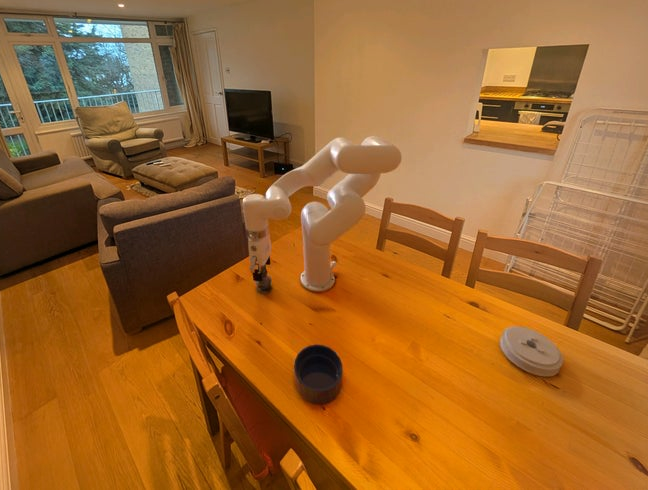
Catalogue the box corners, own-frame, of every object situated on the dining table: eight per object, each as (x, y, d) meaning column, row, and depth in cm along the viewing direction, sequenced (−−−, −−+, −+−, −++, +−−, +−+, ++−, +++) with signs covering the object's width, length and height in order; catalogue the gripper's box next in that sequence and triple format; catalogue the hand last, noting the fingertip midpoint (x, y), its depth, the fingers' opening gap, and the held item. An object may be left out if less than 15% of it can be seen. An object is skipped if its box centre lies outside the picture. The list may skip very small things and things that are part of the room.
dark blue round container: (315, 351, 83) (314, 336, 81) (351, 379, 75) (352, 364, 73) (285, 382, 76) (284, 367, 73) (322, 418, 68) (322, 402, 65)
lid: (556, 389, 70) (563, 376, 68) (494, 357, 78) (498, 345, 76) (560, 352, 79) (566, 339, 77) (503, 327, 87) (507, 315, 85)
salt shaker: (270, 294, 104) (267, 267, 99) (254, 293, 105) (250, 266, 100) (274, 283, 109) (271, 257, 104) (259, 281, 111) (255, 255, 106)
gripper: (259, 246, 89) (264, 291, 96) (275, 218, 104) (279, 258, 111) (236, 244, 90) (243, 287, 98) (255, 216, 106) (260, 256, 113)
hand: (262, 271), depth 104 cm, fingers open, 8 cm apart
